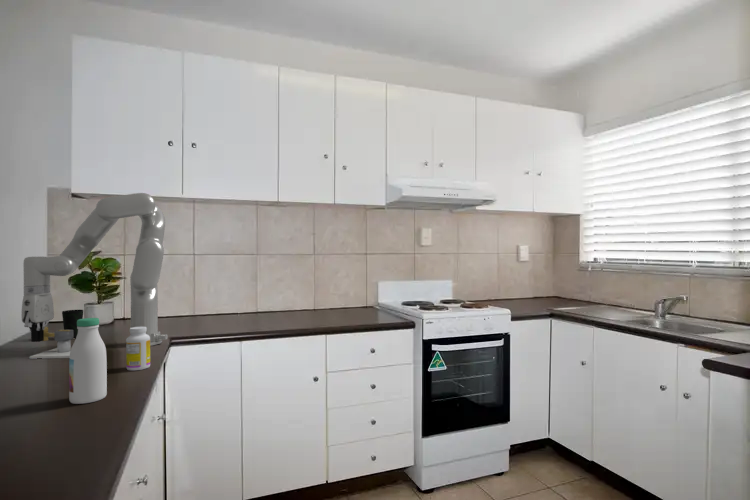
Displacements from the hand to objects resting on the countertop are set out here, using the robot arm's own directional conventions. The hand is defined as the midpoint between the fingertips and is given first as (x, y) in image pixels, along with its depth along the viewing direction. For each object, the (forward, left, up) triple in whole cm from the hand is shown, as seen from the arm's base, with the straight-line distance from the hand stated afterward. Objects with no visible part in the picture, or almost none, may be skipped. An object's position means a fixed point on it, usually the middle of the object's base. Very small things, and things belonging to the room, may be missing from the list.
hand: (37, 341), depth 152 cm
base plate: (-8, -2, -5) cm, 10 cm away
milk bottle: (-48, +50, -5) cm, 70 cm away
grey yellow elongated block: (-5, -3, -1) cm, 6 cm away
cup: (+8, -32, -5) cm, 33 cm away
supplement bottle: (-46, +22, -5) cm, 51 cm away
